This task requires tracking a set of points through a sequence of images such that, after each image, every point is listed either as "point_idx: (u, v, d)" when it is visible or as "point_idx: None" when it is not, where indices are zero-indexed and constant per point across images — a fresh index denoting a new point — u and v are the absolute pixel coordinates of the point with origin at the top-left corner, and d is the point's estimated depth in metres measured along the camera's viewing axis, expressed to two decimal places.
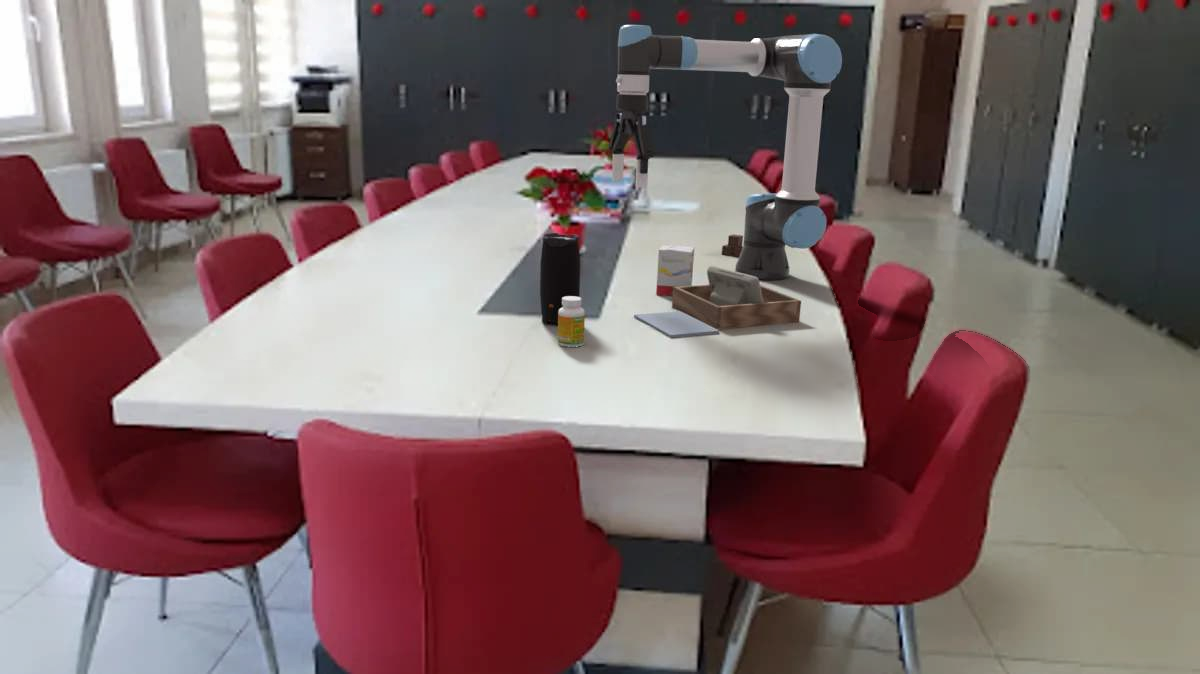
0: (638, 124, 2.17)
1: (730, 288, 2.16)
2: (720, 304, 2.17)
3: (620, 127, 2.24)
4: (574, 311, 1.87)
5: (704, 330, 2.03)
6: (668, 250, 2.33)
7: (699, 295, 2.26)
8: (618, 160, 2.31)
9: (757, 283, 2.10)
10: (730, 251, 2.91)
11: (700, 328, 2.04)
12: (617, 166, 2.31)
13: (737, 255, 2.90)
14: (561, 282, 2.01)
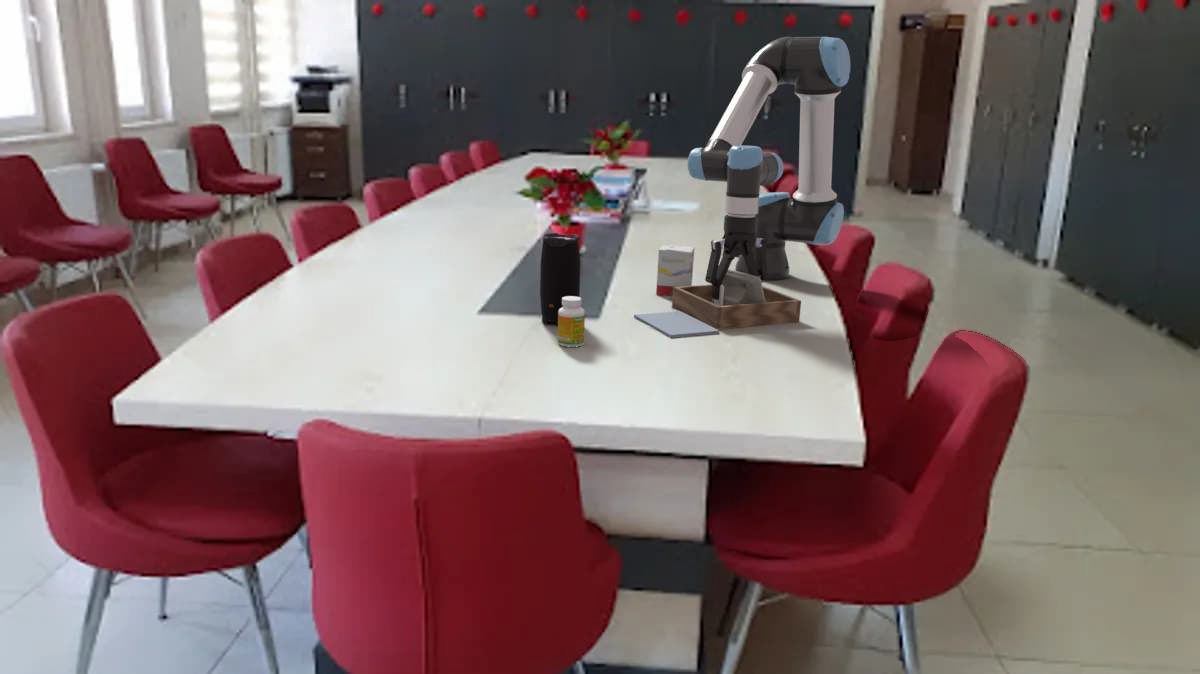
0: None
1: (732, 288, 2.16)
2: None
3: None
4: (574, 311, 1.87)
5: (704, 330, 2.03)
6: (668, 250, 2.33)
7: (699, 295, 2.26)
8: None
9: (759, 283, 2.10)
10: None
11: (700, 328, 2.04)
12: None
13: (738, 255, 2.91)
14: (561, 282, 2.01)
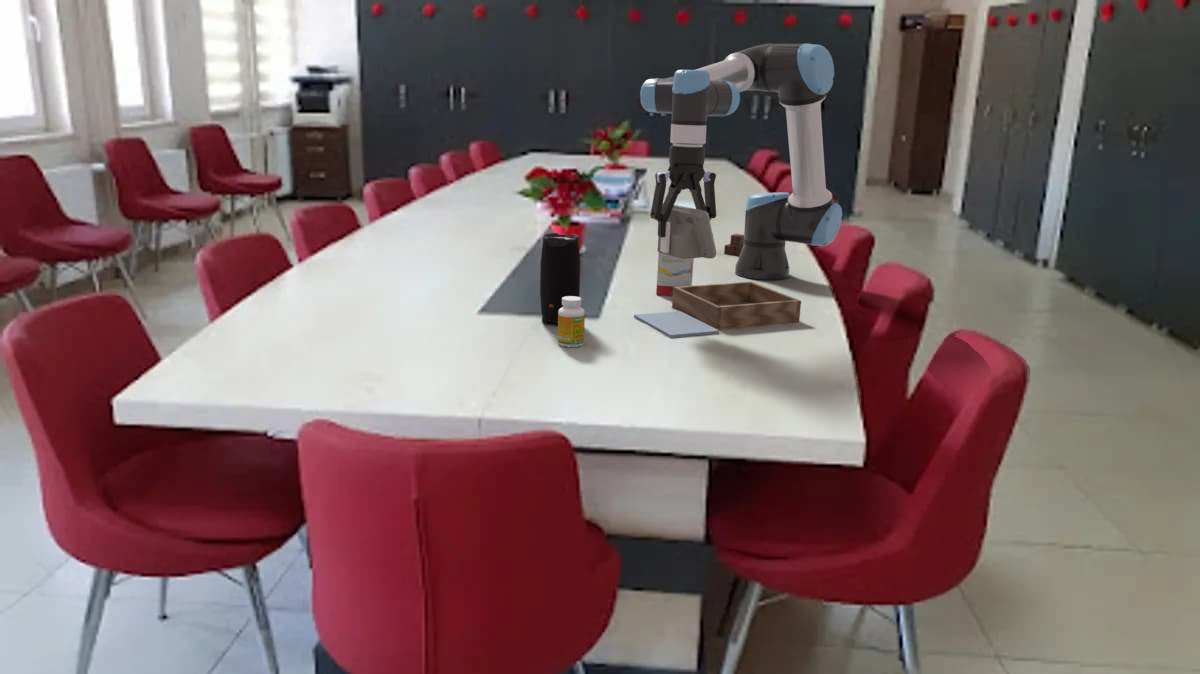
0: None
1: (679, 224, 2.01)
2: None
3: None
4: (574, 311, 1.87)
5: (704, 330, 2.03)
6: None
7: (699, 295, 2.26)
8: None
9: (706, 217, 1.95)
10: (732, 250, 2.93)
11: (700, 328, 2.04)
12: None
13: (739, 254, 2.92)
14: (561, 282, 2.01)
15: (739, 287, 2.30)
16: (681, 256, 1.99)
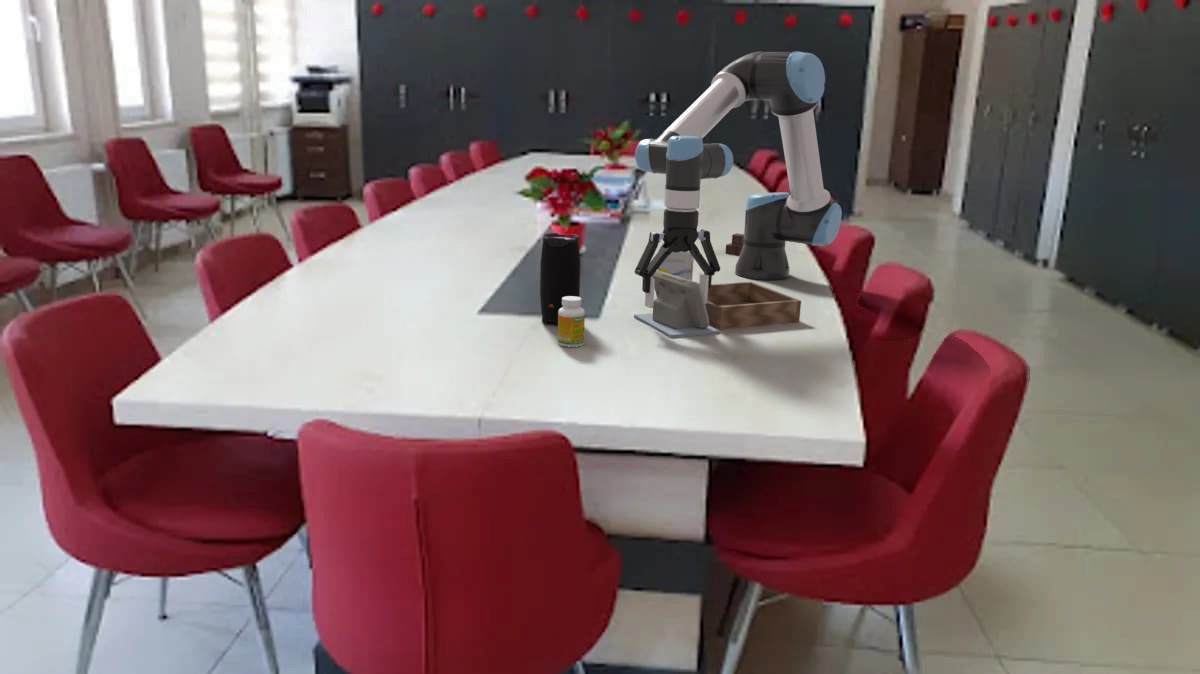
0: None
1: (673, 294, 2.05)
2: (662, 311, 2.06)
3: None
4: (574, 311, 1.87)
5: (704, 330, 2.03)
6: None
7: None
8: (702, 280, 2.08)
9: (698, 289, 1.99)
10: (734, 250, 2.94)
11: (700, 328, 2.04)
12: (701, 287, 2.09)
13: None
14: (561, 282, 2.01)
15: (739, 287, 2.30)
16: (674, 326, 2.03)
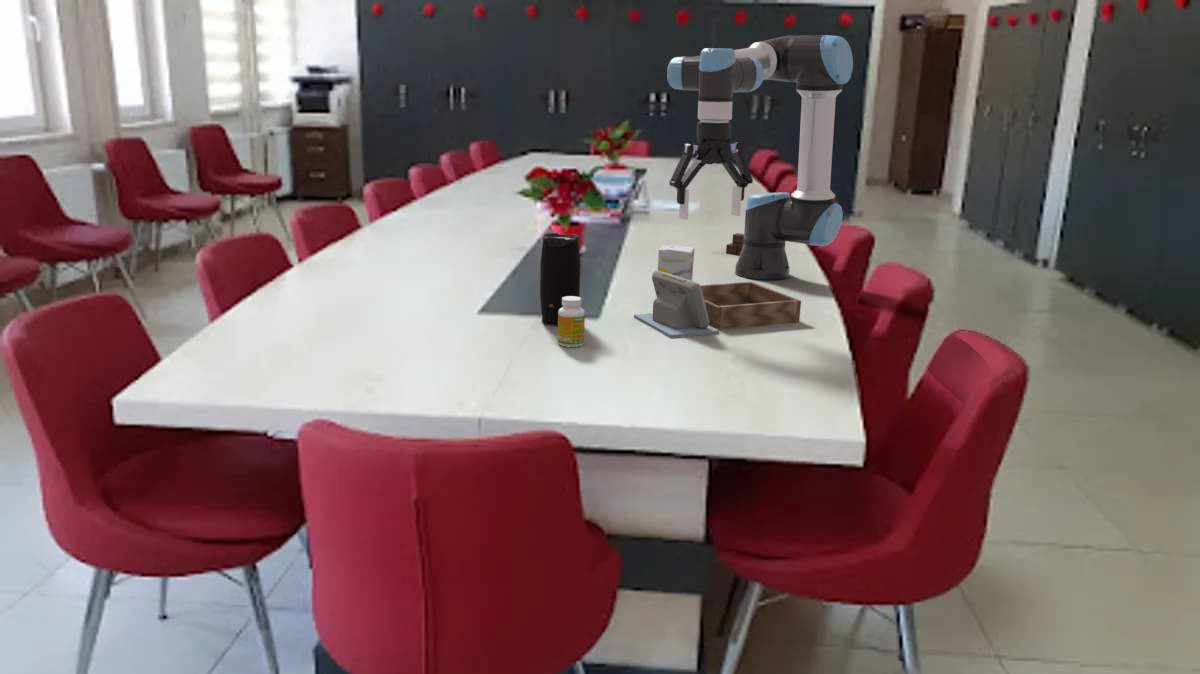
0: None
1: (673, 294, 2.05)
2: (662, 311, 2.06)
3: None
4: (574, 311, 1.87)
5: (704, 330, 2.03)
6: (668, 250, 2.33)
7: None
8: (735, 193, 2.13)
9: (698, 289, 1.99)
10: (734, 250, 2.94)
11: (700, 328, 2.04)
12: (734, 199, 2.14)
13: None
14: (561, 282, 2.01)
15: (739, 287, 2.30)
16: (674, 326, 2.03)
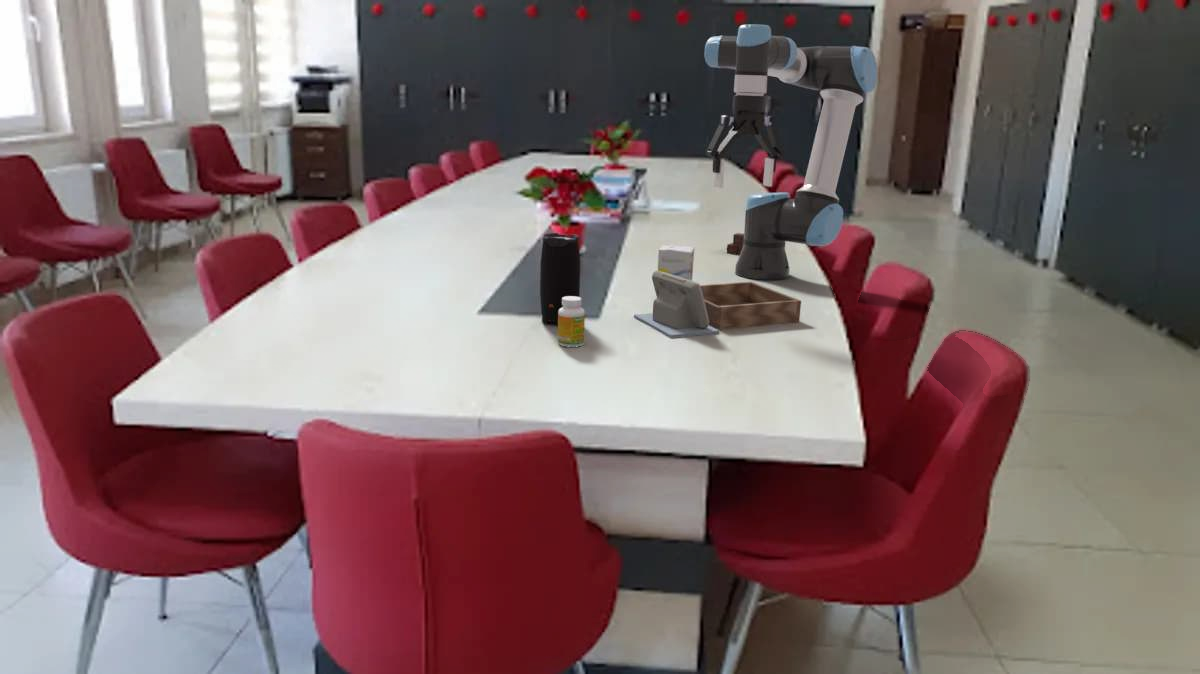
0: None
1: (673, 294, 2.05)
2: (662, 311, 2.06)
3: None
4: (574, 311, 1.87)
5: (704, 330, 2.03)
6: (668, 250, 2.33)
7: None
8: (767, 164, 2.24)
9: (698, 289, 1.99)
10: (735, 249, 2.94)
11: (700, 328, 2.04)
12: (766, 170, 2.24)
13: None
14: (561, 282, 2.01)
15: (739, 287, 2.30)
16: (674, 326, 2.03)
